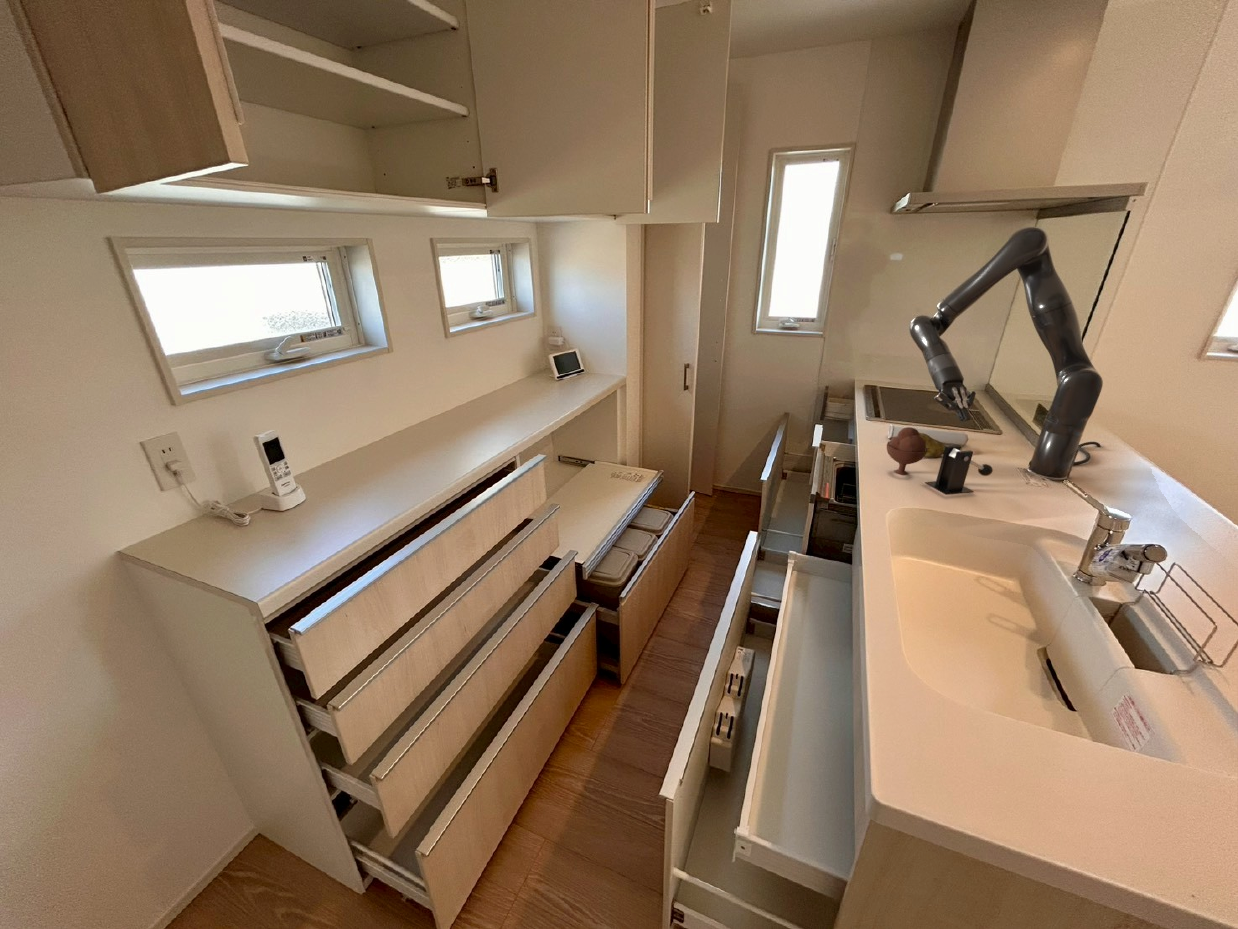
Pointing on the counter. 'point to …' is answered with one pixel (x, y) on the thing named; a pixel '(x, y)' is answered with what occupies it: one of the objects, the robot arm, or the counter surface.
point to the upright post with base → (953, 472)
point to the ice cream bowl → (906, 448)
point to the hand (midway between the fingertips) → (966, 421)
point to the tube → (935, 435)
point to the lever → (976, 465)
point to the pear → (933, 446)
